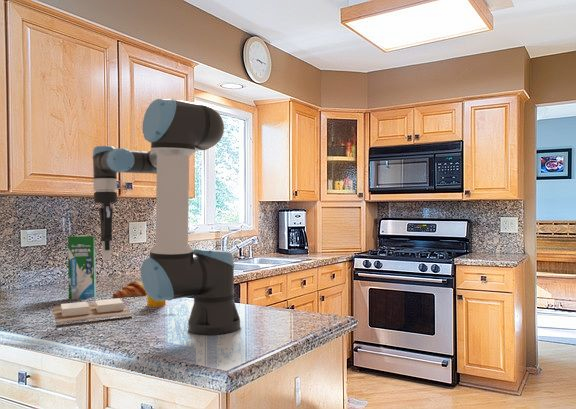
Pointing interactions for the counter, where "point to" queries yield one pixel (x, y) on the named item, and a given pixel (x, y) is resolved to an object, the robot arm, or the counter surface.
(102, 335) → the counter surface
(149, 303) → the beer can
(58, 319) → the board
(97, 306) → the tile
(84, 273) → the milk carton
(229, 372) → the counter surface
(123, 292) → the croissant
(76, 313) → the tile
